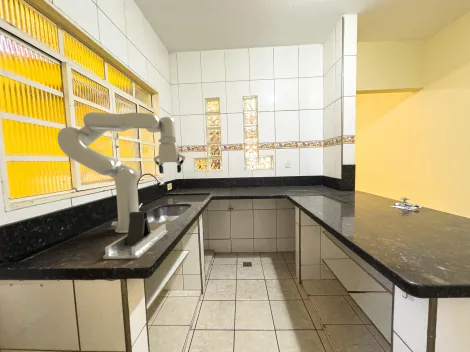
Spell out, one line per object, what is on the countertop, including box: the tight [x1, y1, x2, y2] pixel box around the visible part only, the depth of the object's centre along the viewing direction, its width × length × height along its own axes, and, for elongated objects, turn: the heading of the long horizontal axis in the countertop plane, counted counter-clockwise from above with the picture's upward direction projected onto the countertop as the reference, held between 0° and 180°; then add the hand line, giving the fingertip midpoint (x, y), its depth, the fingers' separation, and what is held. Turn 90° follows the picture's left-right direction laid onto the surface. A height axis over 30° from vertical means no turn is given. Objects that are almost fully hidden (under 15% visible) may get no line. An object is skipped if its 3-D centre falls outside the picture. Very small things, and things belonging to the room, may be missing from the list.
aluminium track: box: [103, 223, 169, 260], centre depth 83 cm, size 12×28×4 cm, turn 178°
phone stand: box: [126, 211, 151, 245], centre depth 83 cm, size 9×6×12 cm, turn 175°
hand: (170, 173), depth 109 cm, fingers open, 9 cm apart
